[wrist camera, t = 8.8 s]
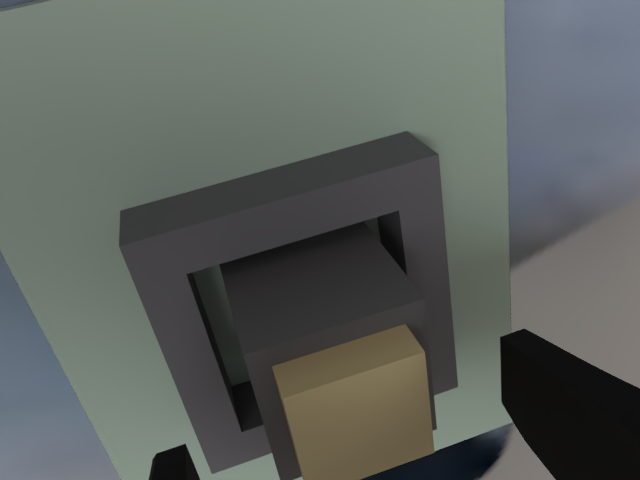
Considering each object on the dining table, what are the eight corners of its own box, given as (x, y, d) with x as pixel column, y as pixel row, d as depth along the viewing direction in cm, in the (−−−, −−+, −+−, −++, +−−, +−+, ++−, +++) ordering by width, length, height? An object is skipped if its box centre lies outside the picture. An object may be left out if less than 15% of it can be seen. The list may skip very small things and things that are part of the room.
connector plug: (246, 354, 18) (291, 520, 13) (213, 244, 16) (251, 387, 11) (368, 316, 19) (455, 460, 14) (351, 205, 17) (446, 325, 12)
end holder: (158, 528, 22) (162, 607, 19) (-97, 29, 13) (-153, 54, 11) (499, 404, 24) (543, 461, 22) (481, -98, 15) (552, -103, 13)
